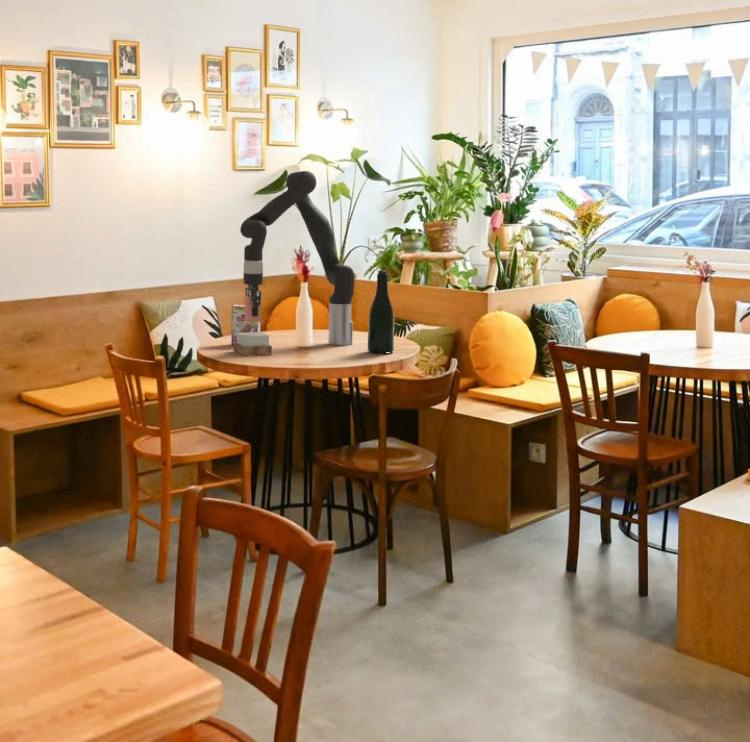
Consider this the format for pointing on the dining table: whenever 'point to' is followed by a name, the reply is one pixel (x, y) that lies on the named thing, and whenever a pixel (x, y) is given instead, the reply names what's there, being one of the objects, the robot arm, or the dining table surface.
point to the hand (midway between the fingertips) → (252, 315)
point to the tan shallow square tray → (252, 350)
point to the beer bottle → (381, 318)
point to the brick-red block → (248, 311)
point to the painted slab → (253, 339)
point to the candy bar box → (241, 323)
